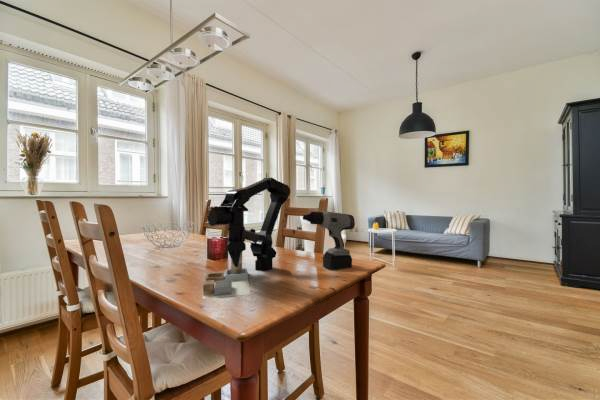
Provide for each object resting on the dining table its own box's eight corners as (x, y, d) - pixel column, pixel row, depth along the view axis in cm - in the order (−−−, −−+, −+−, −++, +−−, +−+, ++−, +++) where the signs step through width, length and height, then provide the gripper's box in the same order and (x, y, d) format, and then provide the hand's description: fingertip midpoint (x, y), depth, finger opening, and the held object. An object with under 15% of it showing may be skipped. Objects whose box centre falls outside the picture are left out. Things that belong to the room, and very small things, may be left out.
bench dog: (214, 289, 85) (214, 280, 85) (213, 294, 81) (213, 283, 81) (204, 290, 84) (204, 280, 84) (203, 295, 81) (203, 284, 81)
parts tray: (246, 273, 103) (246, 268, 103) (247, 279, 96) (247, 273, 96) (225, 275, 101) (225, 269, 101) (224, 281, 94) (224, 275, 94)
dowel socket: (224, 276, 100) (224, 272, 100) (223, 281, 94) (223, 276, 94) (207, 277, 98) (207, 273, 98) (205, 282, 93) (205, 278, 93)
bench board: (246, 275, 105) (246, 272, 105) (250, 298, 81) (250, 294, 81) (209, 277, 102) (209, 274, 102) (202, 302, 78) (202, 298, 78)
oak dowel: (242, 271, 101) (243, 250, 101) (240, 274, 97) (241, 252, 97) (232, 271, 100) (232, 250, 100) (229, 274, 96) (230, 252, 96)
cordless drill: (300, 269, 114) (299, 211, 113) (347, 263, 123) (347, 209, 123) (307, 273, 107) (307, 212, 106) (357, 267, 116) (357, 210, 116)
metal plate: (231, 286, 88) (231, 279, 88) (231, 294, 81) (231, 286, 81) (215, 288, 87) (215, 280, 87) (214, 295, 80) (214, 287, 80)
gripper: (260, 225, 91) (260, 270, 91) (255, 220, 109) (256, 258, 110) (226, 226, 89) (227, 273, 89) (227, 221, 107) (228, 260, 107)
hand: (236, 265), depth 99 cm, fingers closed on oak dowel, 4 cm apart
